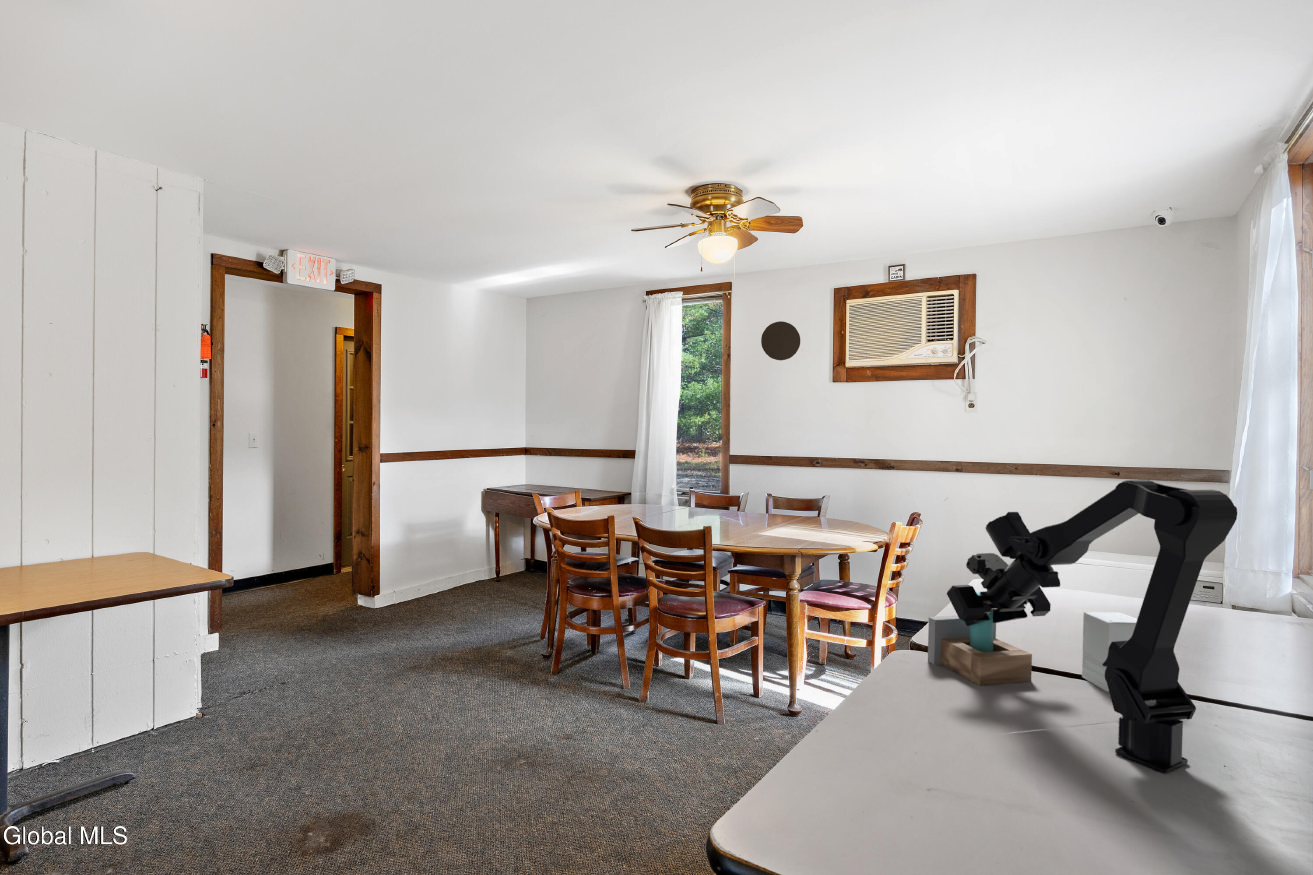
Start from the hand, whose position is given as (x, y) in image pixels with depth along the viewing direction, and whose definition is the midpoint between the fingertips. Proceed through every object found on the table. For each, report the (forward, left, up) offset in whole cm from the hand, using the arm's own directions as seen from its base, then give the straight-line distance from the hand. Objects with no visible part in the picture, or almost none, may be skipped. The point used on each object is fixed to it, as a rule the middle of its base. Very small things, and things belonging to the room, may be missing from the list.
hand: (976, 623), depth 131 cm
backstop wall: (+4, -1, -9) cm, 10 cm away
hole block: (-3, +1, -9) cm, 9 cm away
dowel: (-2, 0, -6) cm, 7 cm away
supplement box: (-17, -16, -9) cm, 25 cm away
